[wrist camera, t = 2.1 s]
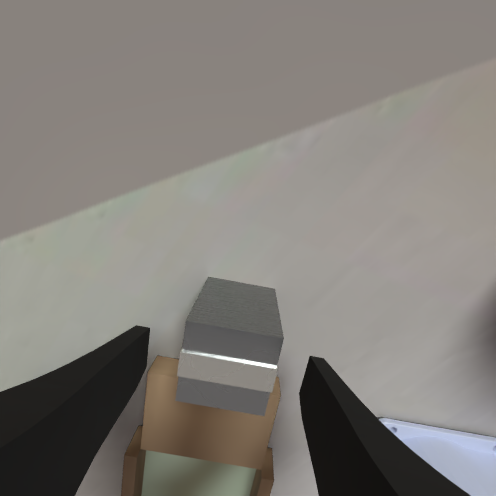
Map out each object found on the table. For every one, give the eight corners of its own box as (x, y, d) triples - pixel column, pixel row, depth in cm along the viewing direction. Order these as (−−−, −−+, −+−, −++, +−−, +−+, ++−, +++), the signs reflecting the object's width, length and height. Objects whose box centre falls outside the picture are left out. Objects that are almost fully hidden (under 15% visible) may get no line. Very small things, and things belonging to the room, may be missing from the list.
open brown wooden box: (290, 379, 16) (295, 405, 14) (249, 531, 20) (249, 569, 18) (145, 353, 16) (130, 376, 14) (130, 511, 20) (117, 547, 18)
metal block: (275, 288, 15) (285, 340, 10) (262, 346, 16) (265, 418, 11) (207, 276, 15) (184, 321, 10) (199, 334, 16) (173, 402, 11)
